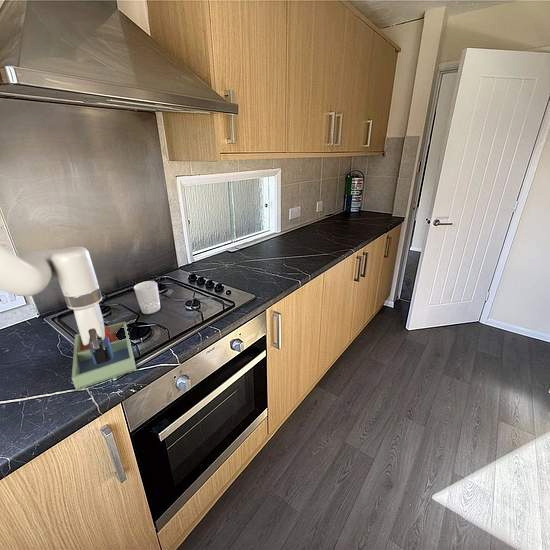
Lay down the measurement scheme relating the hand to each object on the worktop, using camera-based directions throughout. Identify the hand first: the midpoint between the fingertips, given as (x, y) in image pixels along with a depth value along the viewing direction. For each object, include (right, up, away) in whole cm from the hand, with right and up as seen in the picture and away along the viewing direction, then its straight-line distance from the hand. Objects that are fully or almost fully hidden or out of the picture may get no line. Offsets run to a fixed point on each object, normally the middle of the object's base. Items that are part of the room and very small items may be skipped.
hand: (103, 356), depth 79 cm
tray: (-3, -2, +6) cm, 6 cm away
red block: (-5, +1, +10) cm, 11 cm away
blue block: (0, 0, 0) cm, 0 cm away
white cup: (0, +9, +31) cm, 32 cm away
